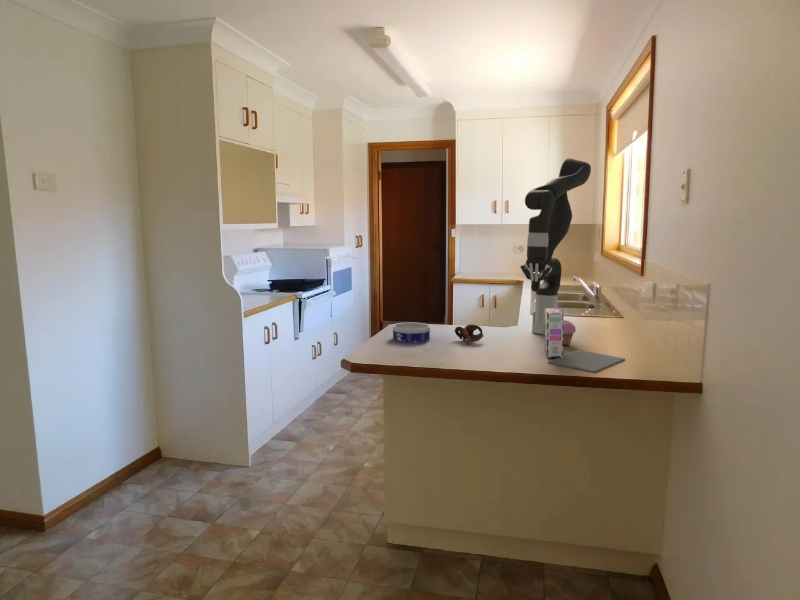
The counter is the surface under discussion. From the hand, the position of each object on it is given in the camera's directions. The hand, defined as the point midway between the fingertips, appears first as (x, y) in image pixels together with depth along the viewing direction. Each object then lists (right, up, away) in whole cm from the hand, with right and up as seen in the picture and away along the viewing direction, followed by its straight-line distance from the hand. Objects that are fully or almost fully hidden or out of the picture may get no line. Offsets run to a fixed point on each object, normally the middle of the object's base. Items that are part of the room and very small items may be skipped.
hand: (535, 291), depth 207 cm
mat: (+15, -25, -12) cm, 32 cm away
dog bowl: (-46, -20, +21) cm, 54 cm away
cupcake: (+15, -21, +14) cm, 30 cm away
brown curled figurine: (-23, -21, +17) cm, 35 cm away
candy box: (+6, -24, -3) cm, 25 cm away
